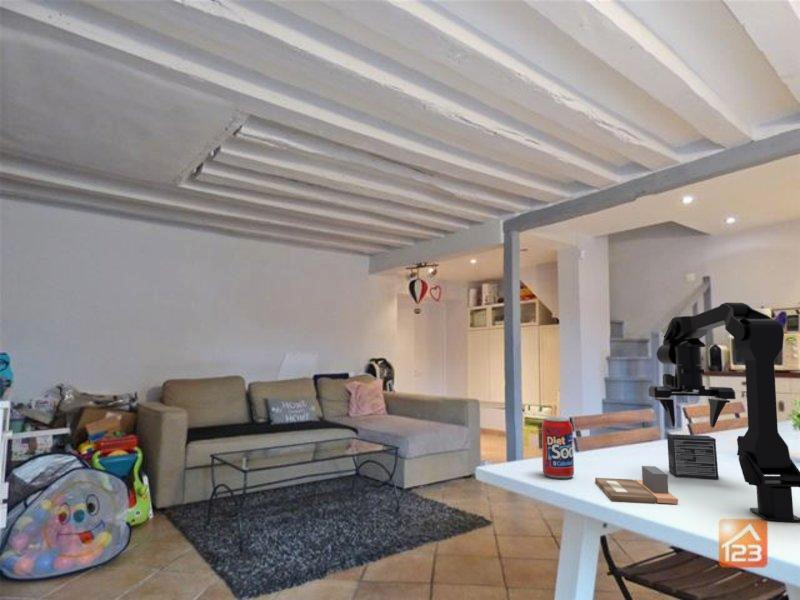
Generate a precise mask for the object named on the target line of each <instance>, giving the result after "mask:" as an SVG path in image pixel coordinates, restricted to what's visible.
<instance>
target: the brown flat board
mask: <svg viewBox="0 0 800 600" xmlns="http://www.w3.org/2000/svg"><path fill="white" fill-rule="evenodd" d="M594 478H595V479H594V483H595V484H596V485H597V487H599V488H600V489H601V491H602V492H603V493H604V494H605V495H606V496H607V498H608V499H609V500H610V501H611V502H617V503H618V502H620V503H639V504H655V503H656V504H657V502H656V498H655V497H654V496H653V495H652V494H650V493H649V492H648V491H647V490H645V489H644V488H643V487H642V486H641V485H639V484H638V483H637V482H636V481H634V480H635V479H632V478H631V479H629V478H628V479H627V478H609V477H607V478H606V477H594Z"/></svg>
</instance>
